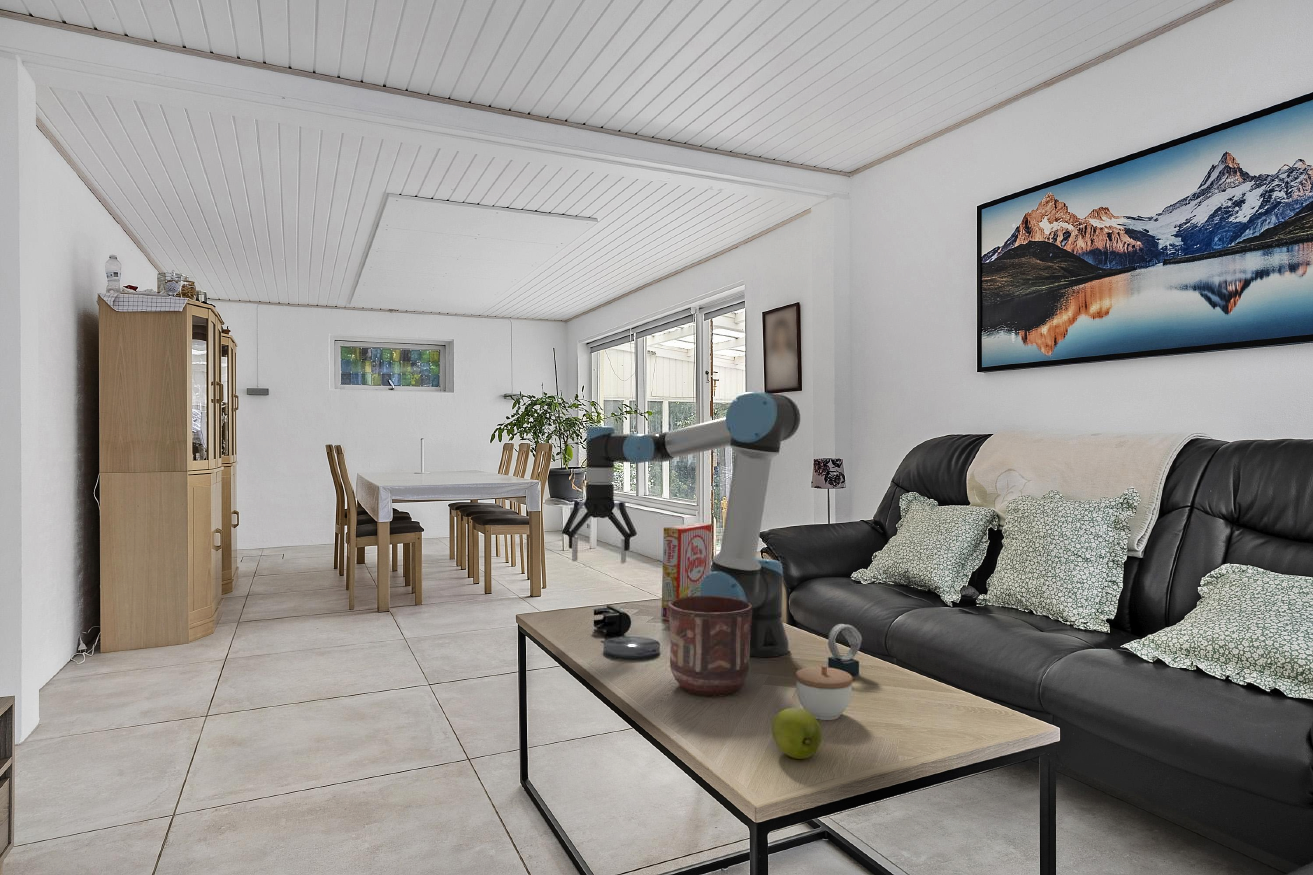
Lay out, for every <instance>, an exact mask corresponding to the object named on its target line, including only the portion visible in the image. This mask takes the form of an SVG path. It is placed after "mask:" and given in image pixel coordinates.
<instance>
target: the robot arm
mask: <svg viewBox="0 0 1313 875" xmlns="http://www.w3.org/2000/svg"><path fill="white" fill-rule="evenodd" d="M800 424H801V414H800V409H799V407H798V405H797V403H796V402H794V401H793V400H792V399H791V398H790V397H788V396H786V395H784V394H777V393H770V392H769V393H768V392H763V391H749V392H748V391H747V392H744V393H742V394H740V395H738V396H737V397H736V398H734V399H733V400H732V402H730V403H729V405H728V407H727V410H726V413H725V417H722V418H717V419H714V420H710V421H706V422H701V423H697V424H693V425H690V426H686V427H681V428H677V429H673V430H669V431H665V432H660V433H657V434H654V433H653V434H649V433H647V434H646V433H643V434H642V433H616V432H615V428H614V426H605V425H604V426H603V425H602V426H598V425H597V426H595V425H593V426H589V427H588V428H587V429H586V440H585V446H586V448H585V449H586V465H585V467H586V468H585V481H586V482H587V484H586V485H585V500H584V501H581V500H579V499H578V500H575V501H574V502H573V509H572V511H571V513H570V515H569V516H568V519H567V521H566V523H565V525H564V527H563V529H562V531H561V534H562V535H566V536H567V537H568V549H571V562H574V563H575V562H576V561H578V548H579V547H578V545H579V544H578V542H579V540H578V538H579V537H578V536H577V535H576V534H577V533H578V532H579V531H580V530H581V528H582V527H583V526H584V525H585V524H586V522H587V521H588V520H589V519H590V518H591V517H592V518H593V519H596V518H601V519H605V518H608V519H609V520H610V522H611V523H612V524H613V526H615V528H616V529H617V531H618V532H619V533H620V534H621V536H623V538H621V539H620V540H621V541H620V543H621V545H620V547H621V548H620V563H621V564H625V563H626V562H627V552H628V551H629V550H630V549H631V548H630V547H631V538H634V537H635V536H637V534H638V533H637V531H636V528H635V526H634V524H633V522H632V520H631V517H630V515H629V513H628V511H627V509H626V507H627V506H626V502H625V501H623V500H622V501H620V502H615V500H614V499H615V498H614V492H615V489H614V488H615V487H614V484H613V483H614V481H615V463H616V462H617V463H632V464H633V463H634V464H640V463H649V462H650V463H653V462H659V463H666V462H670V461H672V460H674V459H677V458H680V457H681V458H682V457H684V456H689V455H696V454H699V453H704V452H709V451H714V450H718V449H722V448H727V447H730V448H731V450H732V451H733V452H734V461H733V467H732V471H731V472H732V473H731V479H730V485H729V486H730V487H729V493H728V498H727V499H728V500H727V506H726V512H725V519H724V524H723V526H724V527H723V532H722V539H721V543H720V544H721V545H720V551H719V552H718V553H716V554H715V555H714V556H713V557H712V559H711V560H712V562H711V567H710V573H708V574H707V575H706V576H705V577H704V578H703V580H702V582H701V584H700V596H722V597H730V598H736V599H740V600H744V601H746V602H748V603H750V604H751V606H752V620H751V630H750V657H757V658H771V657H779V656H783V655H786V654H787V653H788V652H789V640H788V636H787V633H786V629H785V626H784V622H783V615H782V614H783V587H784V586H783V584H784V583H783V581H784V573H783V564H782V562H781V561H779V560H777V559H768V558H762V557H761V558H759V557H757V554H758V553H757V552H758V545H759V539H760V532H761V527H762V521H763V515H764V508H765V501H766V496H767V490H768V482H769V478H770V470H771V463H772V460H773V458H774V457H775V458H776V456H778V455H779V454H780V450H781V442H783V441H786V440H788V439H791V438H792V437H793V436H794V435H795V433H797V432H798V429H799V427H800ZM583 507H584V508H585V510H586V512H585V513H584V515H582V517H581V518H580V520H579V521H578V522H577V523H576V525H574V522H575V521H576V518H577V516H578V514H579V512H580V510H581V509H583ZM615 508H616V509H617V511H619V513H620V515H621V517H622V520H623V521H624V523H625V526H626V528H627V529H626V528H625V526H624V525H623V524H622V523H621V521H620V520H619V519H618V518H617V515H616V514H615V513H614V512H613V510H614V509H615ZM573 525H574V527H573V528H572V526H573ZM571 528H572V529H571Z"/></svg>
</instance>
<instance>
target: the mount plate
mask: <svg viewBox="0 0 1313 875" xmlns="http://www.w3.org/2000/svg"><path fill="white" fill-rule="evenodd" d="M602 652H603V654H604V655H606V656H607V657H609V658H612V659H619V660H625V661H626V660H627V661H632V660H633V661H636V660H637V661H638V660H639V661H640V660H646V659H652V658H654V657H655V658H656V657H657V656H659V655H660V653H661V643H660V642H659V641H658V640H656V639H654V638H649V637H645V636H621V637H615V638H608V639H606V640H605V641H604V642H603V650H602Z"/></svg>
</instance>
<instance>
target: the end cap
mask: <svg viewBox="0 0 1313 875" xmlns="http://www.w3.org/2000/svg"><path fill="white" fill-rule="evenodd" d="M601 615H602V616H603V617H602V618H599V619H593V627H594V628H593V631H594V632H595V633H597V634H599V635H600V636H602V637H603V638H605V639H612V638H617V637H624V635H626V633H628V631H629V630H630V628H631V626H632V619H631V617H630V615H629V614H628V613H626V612H625V611H622V610H621V609H620V608H616V607H615V606H613V605H610V604H607V605H606V607H599V608H594V609H593V616H601Z"/></svg>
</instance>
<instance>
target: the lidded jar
mask: <svg viewBox="0 0 1313 875" xmlns="http://www.w3.org/2000/svg"><path fill="white" fill-rule="evenodd" d="M795 679H796V694H797V698H798V701H799V703H800V705H801V707H802V709H805V710H807V711H808V712H810V713H811V714H812V715H813V716H814V717H815V718H816V720H820V721H821V720H822V721H833V720H837V719H839V718H840V716H841V715H842V714H843V713H844V712H845V711H846V710H847V708H848V707H849V705H850V701H851V698H852V689H853V687H852V686H853V685H852V684H853V676H851V675H850V674H849V673H847V672H845V671H842V670H839V669H835V668H828V665H821V666H810V667H804V668H800V669H798V670H797V671H796V673H795Z"/></svg>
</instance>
